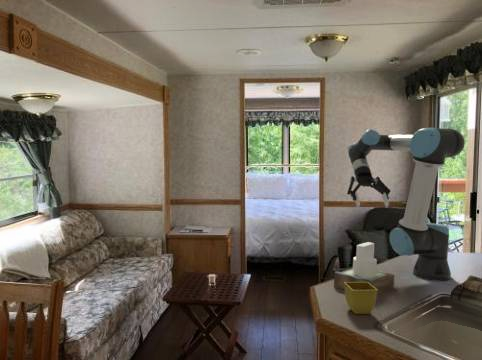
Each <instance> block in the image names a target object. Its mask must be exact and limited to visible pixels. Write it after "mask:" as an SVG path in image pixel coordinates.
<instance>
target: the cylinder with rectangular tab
mask: <svg viewBox="0 0 482 360" xmlns="http://www.w3.org/2000/svg"><path fill="white" fill-rule="evenodd" d="M355 254H356V255H355V256H354V257H353V259H352V268H353V274H354V275H356V276H360V277H375V276H376V270H377V264H378V260H377V258H375V243H374V242H370V241H367V242H362V243H359V244H357V245H356V253H355Z"/></svg>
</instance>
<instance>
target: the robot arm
mask: <svg viewBox="0 0 482 360" xmlns="http://www.w3.org/2000/svg"><path fill="white" fill-rule="evenodd" d="M465 141H466V140H465V137H464V136H463V134H462V132H460V131H459V130H456V129H453V128H440V127H424V128H420V129H418V130H417V131H415V132H414V133H413V134H380V133H379V132H378V131H376V130H374V129H371V128H370V129H367V130H365V132H364V133H363V134H362V135H361V138H360V139H359V140H358V141H357V142H355V143H352V144H351V145H349V146H348V148H347V152H348V157H349V160H350V163H351V166H352V169H353V173H354V176H351V177H350V179H349V182H350V184H349V186H348V189H347V192H346V194H347V195H348V196H349V195H350V197H351V198H352V200H353V202H355V205H356V208H357V209H358V208H359V207H360V205H361V202H360V201H361V200H360V199H359V195H358V192H357V191H358V190H359V189H360V188H361V186H362V187H364V188H365V187H367V188H368V187H369V188H372V189H374V190H375V191H377V192H378V193H379V194H380V195H381V197H382V200H383V204H384V206H385V208H388V207H389V206H390V202H389V199H390V197H389V195H390V193H391V189H390V188H388V186H387V185H386V184H385V183H384V182H383V181H382V180H381V178H380V177H379V176H376V177H373V174H372V171H371V168H370V166H369V162H368V159H367V156H368V155H369V154H370V153H371V151H390V152H391V151H394V152H395V151H401V152H410V153H411V154H412V160H413V162H414V163H415V166H414V170H413V176H412V179H411V184H410V189H409V193H408V198H407V201H406V206H405V211H404V215H403V218H401V219H399V221H398V225H397V227H395V228H393V229H391V231H390V233H389V243H390V245H391V248H392V249H393V251H394V252H395V253H397V254H398V255H400V256H413V255H418V256H417V259H416V260H415V264H414V265H413V268H412V270H413V271H412V273H413V275H414V276H415V277H418V278H421V279H424V280H429V281H440V282H441V281H443V282H444V281H448V280H451V279H452V277H451V275H452V273H451V268H450V265H449V262H448V256H449V254H448V253H449V240H450V228H449V227H448V226H447V225H443V224H438V223H434V222H433V223H432V222H427V217H428V213H429V209H430V205H431V201H432V196H433V192H434V189H435V184H436V179H437V177H438V176H437V175H438V172H439V168H440V167H442V166H444V164H445V160H446V158H453V157H456V156H458V155H459V154H460V153H462V151H463V150H464V149H465V145H466V142H465ZM355 182H356V183H357V184H356V186H355V187H354V189H353V186H354V183H355ZM352 189H353V190H352Z"/></svg>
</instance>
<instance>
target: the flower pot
mask: <svg viewBox="0 0 482 360" xmlns="http://www.w3.org/2000/svg"><path fill="white" fill-rule="evenodd" d="M344 286H345V290H344V295H345V296H344V297H345V300H346V303H347V305H348V308H349V309H350V310H351V311H352V313H354V314H355V315H369V314H370V313H371V312H372V311H373V309H374V308H375V306H376V303H377V296H378V295H377V292H378V290H377V289H376V288H375V287H373V286H372V285H371V284H370V283H369V282H344Z"/></svg>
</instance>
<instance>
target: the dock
mask: <svg viewBox="0 0 482 360" xmlns="http://www.w3.org/2000/svg"><path fill="white" fill-rule="evenodd" d="M333 273H334V277H333V287H334V288H336V289H340V290H344V291H345V286H344V282H369V283H370V284H371V285H372V286H373V287H375V288H376V289H377V290H378V292H377V296H378V295H380V294H383V293H384V292H386V291H388V290H390V289H393V288H394V287H395V274H394V273H393V274H392V273H389V272H385V271H381V270H378V269H376V276H375V277H360V276H356V275H354V274H353V267H352V268H349V269H346V270H343V271H334V272H333Z"/></svg>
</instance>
